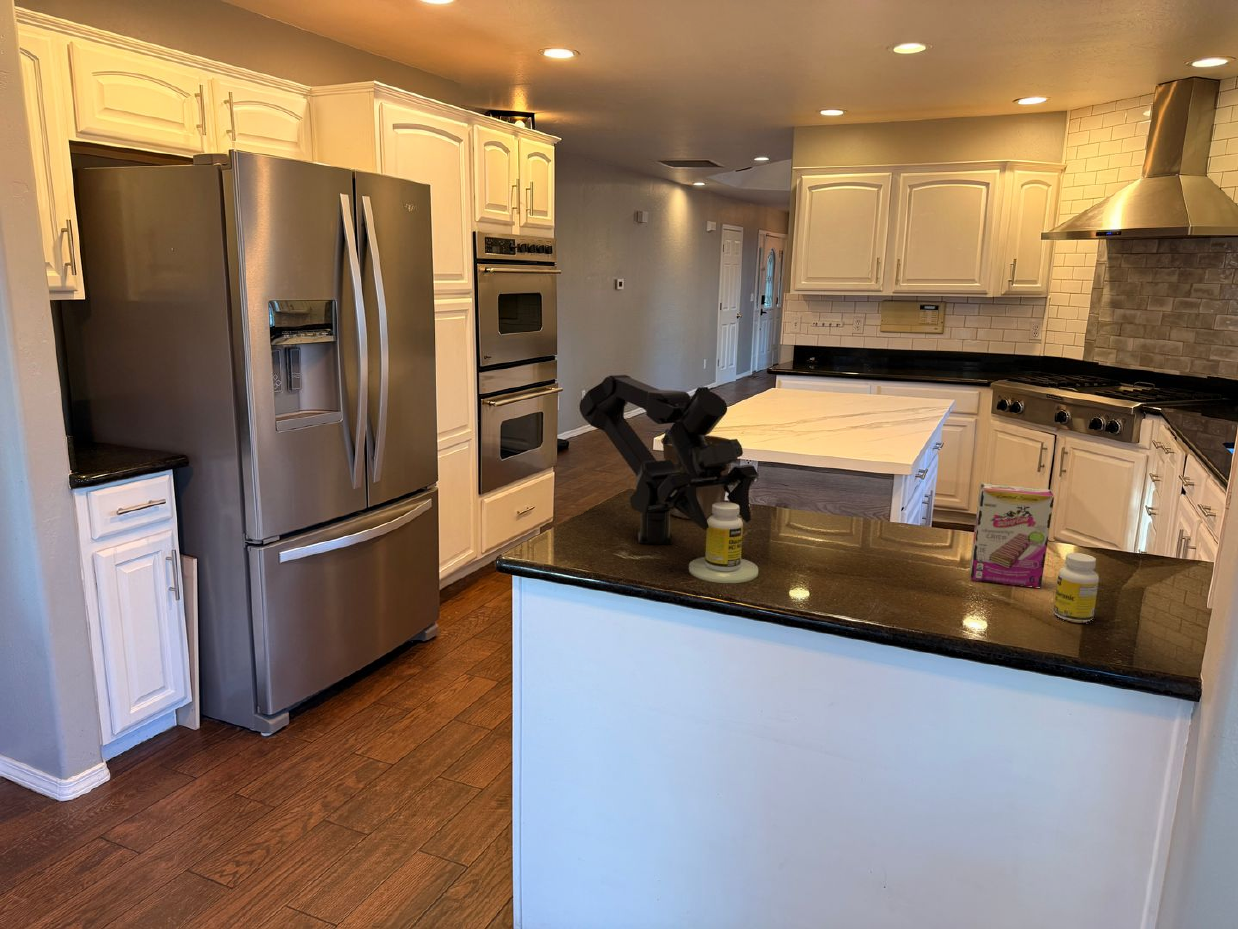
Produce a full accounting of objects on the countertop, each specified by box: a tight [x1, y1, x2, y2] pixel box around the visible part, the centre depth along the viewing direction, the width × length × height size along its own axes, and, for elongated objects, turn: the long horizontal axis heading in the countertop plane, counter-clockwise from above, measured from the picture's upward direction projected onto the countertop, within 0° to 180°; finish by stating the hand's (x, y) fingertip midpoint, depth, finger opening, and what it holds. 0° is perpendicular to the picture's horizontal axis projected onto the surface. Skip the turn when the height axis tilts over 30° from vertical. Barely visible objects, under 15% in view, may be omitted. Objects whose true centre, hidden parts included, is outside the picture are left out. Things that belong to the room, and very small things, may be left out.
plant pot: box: [660, 434, 732, 520], centre depth 181 cm, size 16×16×16 cm
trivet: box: [688, 556, 759, 584], centre depth 145 cm, size 12×12×1 cm
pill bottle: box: [704, 501, 744, 572], centre depth 144 cm, size 6×6×11 cm
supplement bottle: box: [1053, 552, 1100, 622], centre depth 126 cm, size 5×5×10 cm
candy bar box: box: [969, 482, 1055, 588], centre depth 141 cm, size 11×5×16 cm, turn 71°
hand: (728, 525), depth 143 cm, fingers open, 9 cm apart
